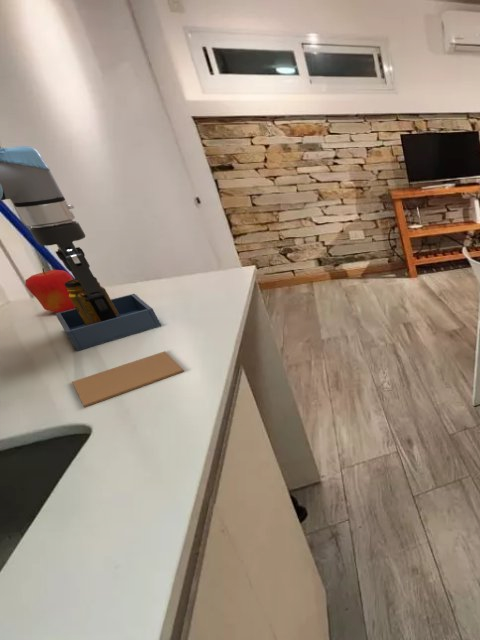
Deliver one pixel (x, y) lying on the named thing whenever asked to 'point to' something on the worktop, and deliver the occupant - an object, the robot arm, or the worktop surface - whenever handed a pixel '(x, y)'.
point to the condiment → (85, 307)
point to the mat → (125, 378)
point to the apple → (51, 290)
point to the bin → (109, 323)
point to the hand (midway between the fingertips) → (109, 320)
